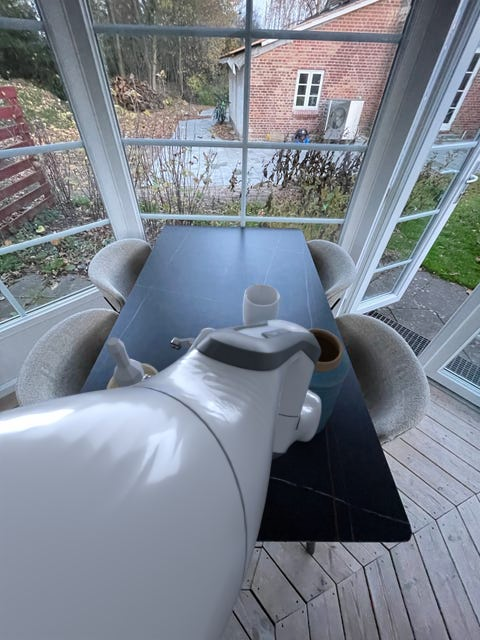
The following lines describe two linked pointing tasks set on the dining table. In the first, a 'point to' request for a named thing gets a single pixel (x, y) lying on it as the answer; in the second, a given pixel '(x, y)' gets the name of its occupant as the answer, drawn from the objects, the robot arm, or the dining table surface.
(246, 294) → the cup
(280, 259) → the dining table surface
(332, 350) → the vase
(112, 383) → the bowl
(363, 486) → the dining table surface
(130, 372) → the faceted bottle
